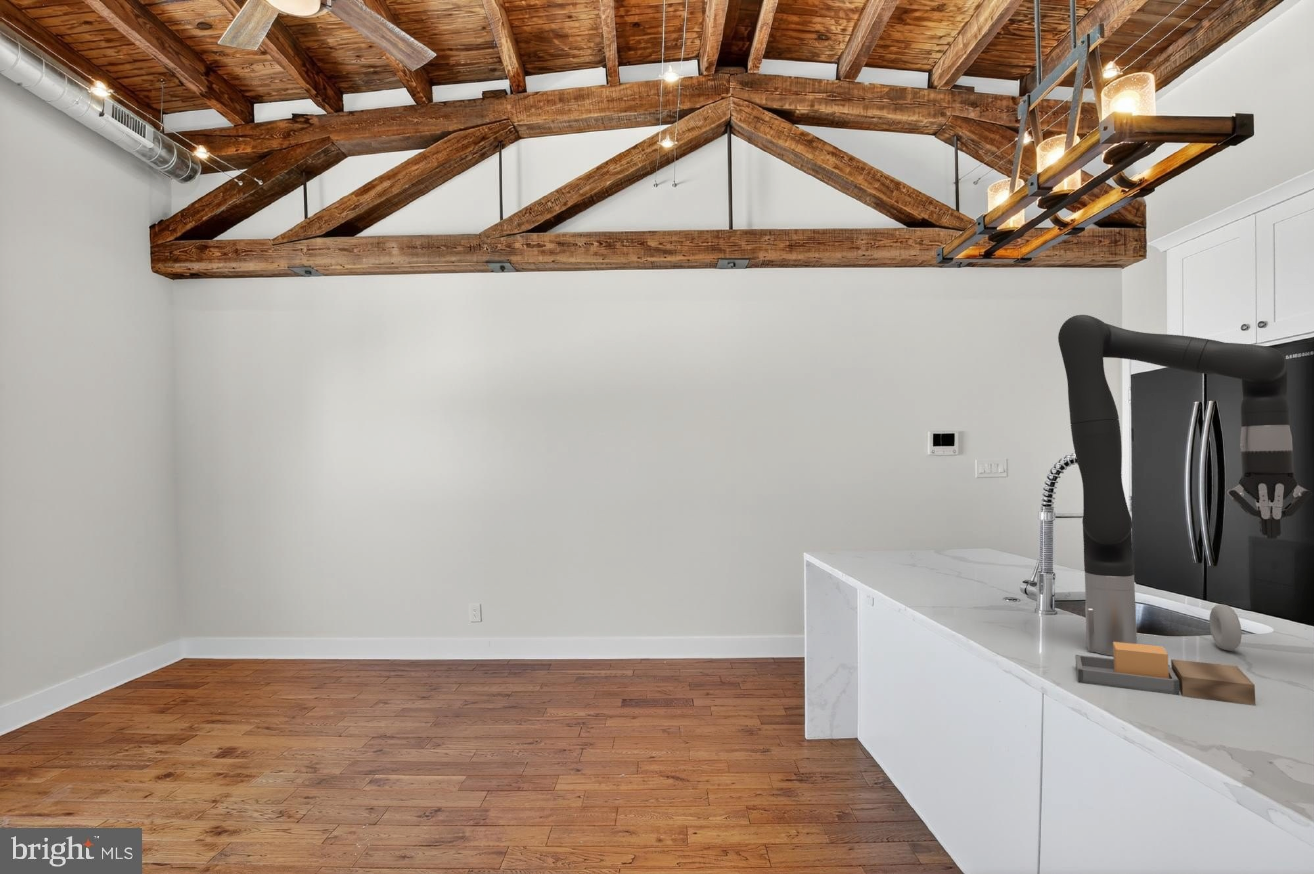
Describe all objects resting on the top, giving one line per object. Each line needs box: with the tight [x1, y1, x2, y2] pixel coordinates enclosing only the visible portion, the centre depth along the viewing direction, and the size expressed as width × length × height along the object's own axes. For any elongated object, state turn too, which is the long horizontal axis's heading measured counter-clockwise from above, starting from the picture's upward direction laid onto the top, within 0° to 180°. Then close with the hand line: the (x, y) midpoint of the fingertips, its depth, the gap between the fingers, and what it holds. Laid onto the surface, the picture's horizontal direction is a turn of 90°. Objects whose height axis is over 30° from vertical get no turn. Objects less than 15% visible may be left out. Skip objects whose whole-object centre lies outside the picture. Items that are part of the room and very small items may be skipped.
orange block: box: [1113, 642, 1169, 679], centre depth 129 cm, size 6×6×8 cm
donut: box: [1209, 603, 1242, 652], centre depth 150 cm, size 10×4×10 cm, turn 158°
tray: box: [1074, 654, 1181, 696], centre depth 131 cm, size 16×11×2 cm
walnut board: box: [1170, 658, 1256, 706], centre depth 125 cm, size 10×12×4 cm
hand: (1270, 538), depth 132 cm, fingers closed
